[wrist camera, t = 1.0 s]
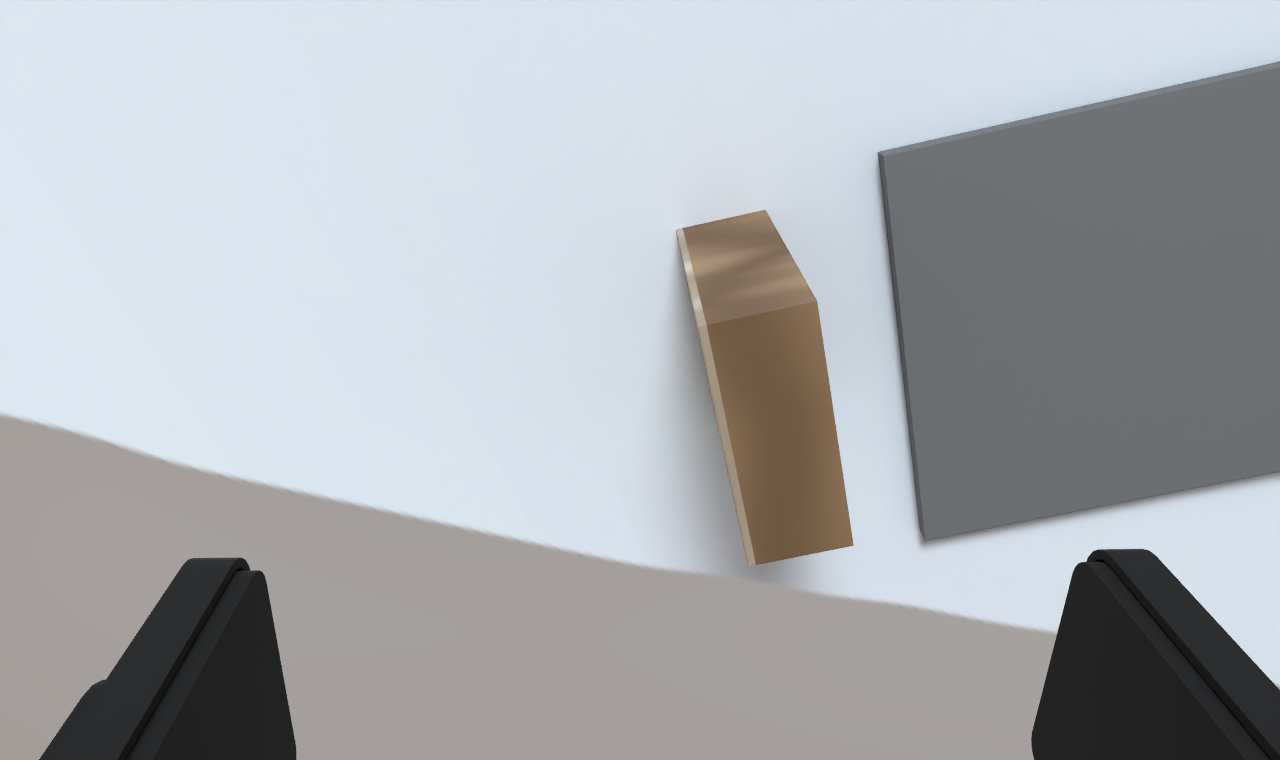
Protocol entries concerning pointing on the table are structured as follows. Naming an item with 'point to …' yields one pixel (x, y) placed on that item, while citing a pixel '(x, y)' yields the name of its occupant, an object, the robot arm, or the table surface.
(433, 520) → the table surface
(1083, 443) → the mat
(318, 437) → the table surface
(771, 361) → the brown wooden block
